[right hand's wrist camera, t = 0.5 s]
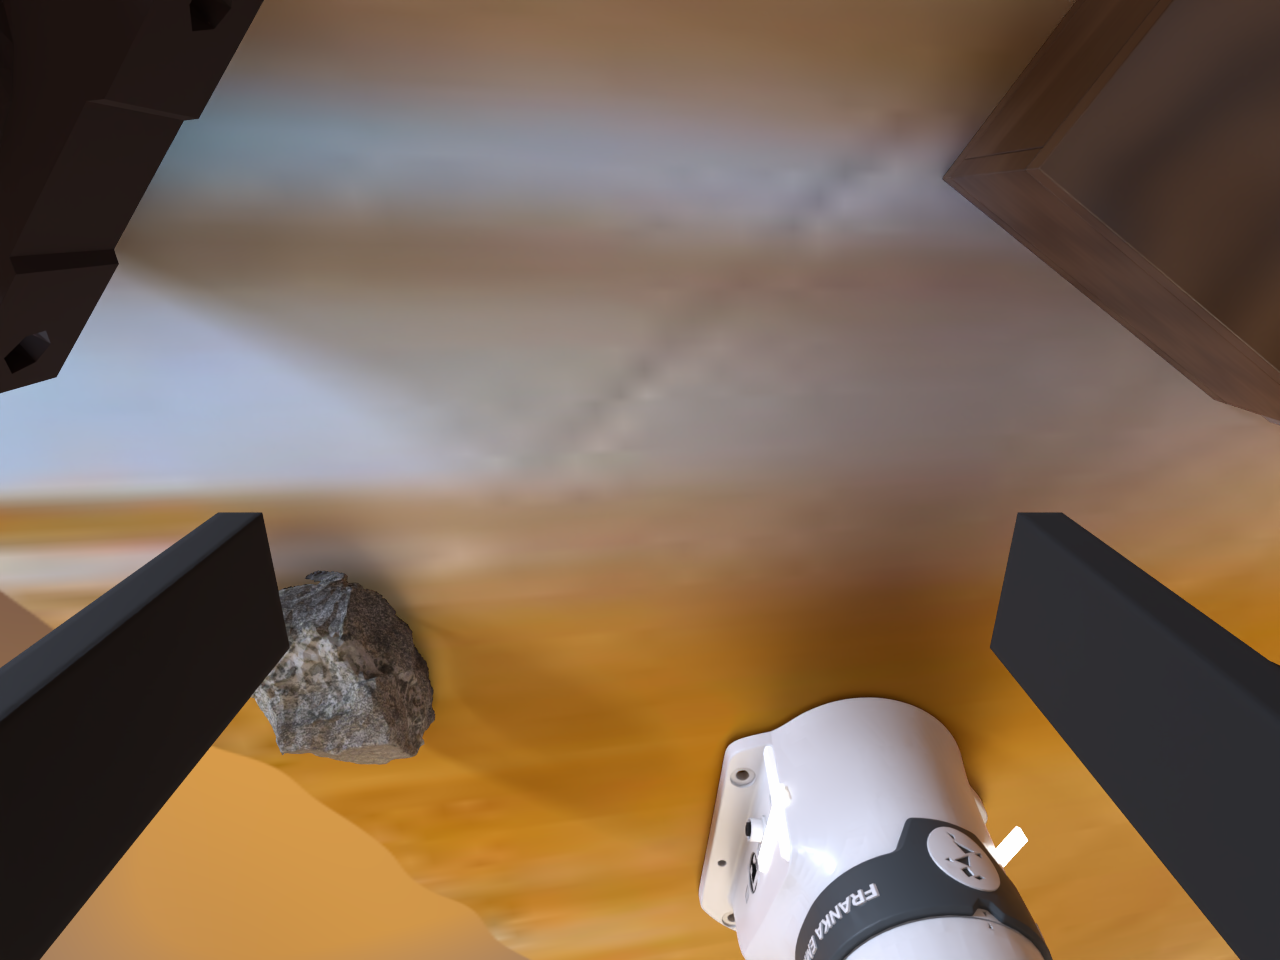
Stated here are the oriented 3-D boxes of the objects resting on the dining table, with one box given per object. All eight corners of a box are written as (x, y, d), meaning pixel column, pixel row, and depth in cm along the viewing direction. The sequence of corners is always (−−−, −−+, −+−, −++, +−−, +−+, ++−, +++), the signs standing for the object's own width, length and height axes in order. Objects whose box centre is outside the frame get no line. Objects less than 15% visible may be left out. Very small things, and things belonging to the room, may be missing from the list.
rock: (231, 617, 44) (167, 683, 38) (323, 532, 42) (271, 586, 36) (396, 746, 47) (362, 825, 41) (487, 673, 45) (465, 744, 39)
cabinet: (1373, 237, 36) (1599, 246, 28) (1214, 399, 39) (1373, 452, 31) (1095, -25, 32) (1259, -109, 24) (941, 178, 35) (1038, 168, 27)
